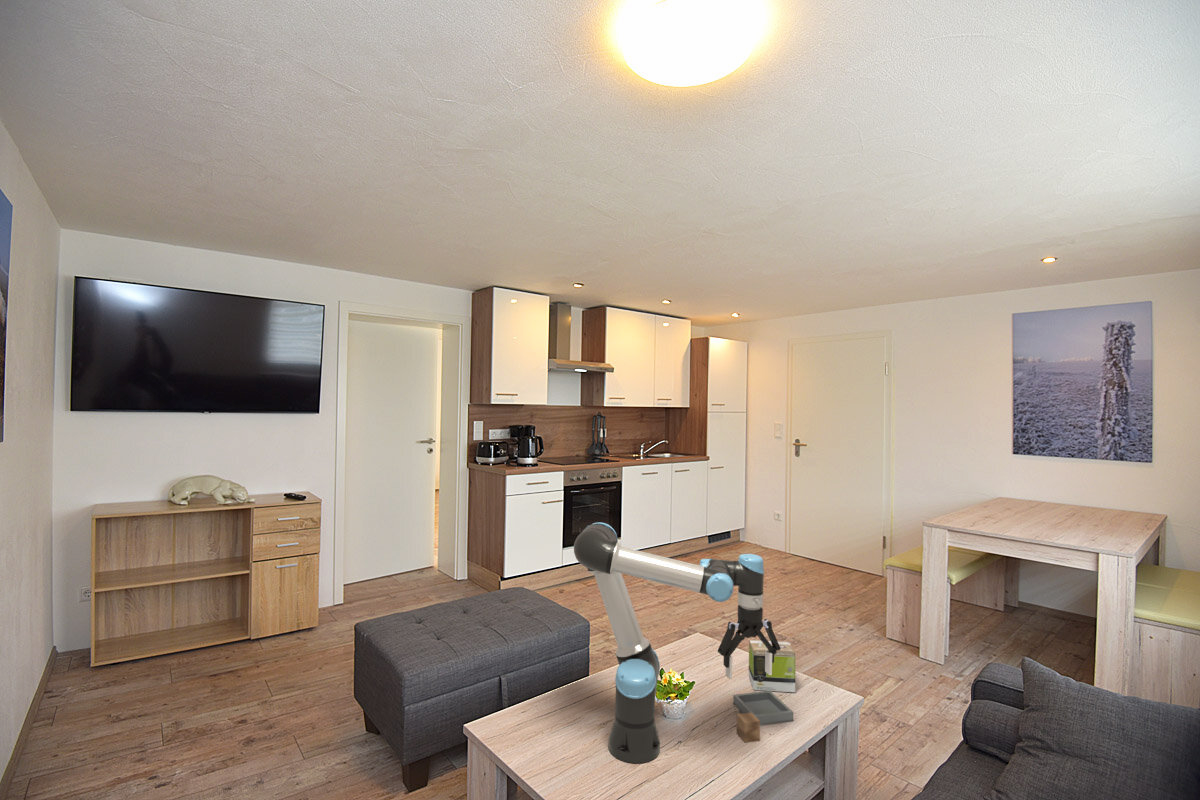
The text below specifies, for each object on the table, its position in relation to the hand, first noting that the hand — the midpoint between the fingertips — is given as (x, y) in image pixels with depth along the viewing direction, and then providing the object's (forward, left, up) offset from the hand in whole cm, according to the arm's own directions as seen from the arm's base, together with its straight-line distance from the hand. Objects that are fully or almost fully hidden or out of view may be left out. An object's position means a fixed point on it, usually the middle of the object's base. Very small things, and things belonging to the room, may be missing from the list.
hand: (748, 675), depth 172 cm
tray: (+12, +12, -19) cm, 25 cm away
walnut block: (0, 0, -19) cm, 19 cm away
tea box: (+25, +28, -19) cm, 42 cm away
